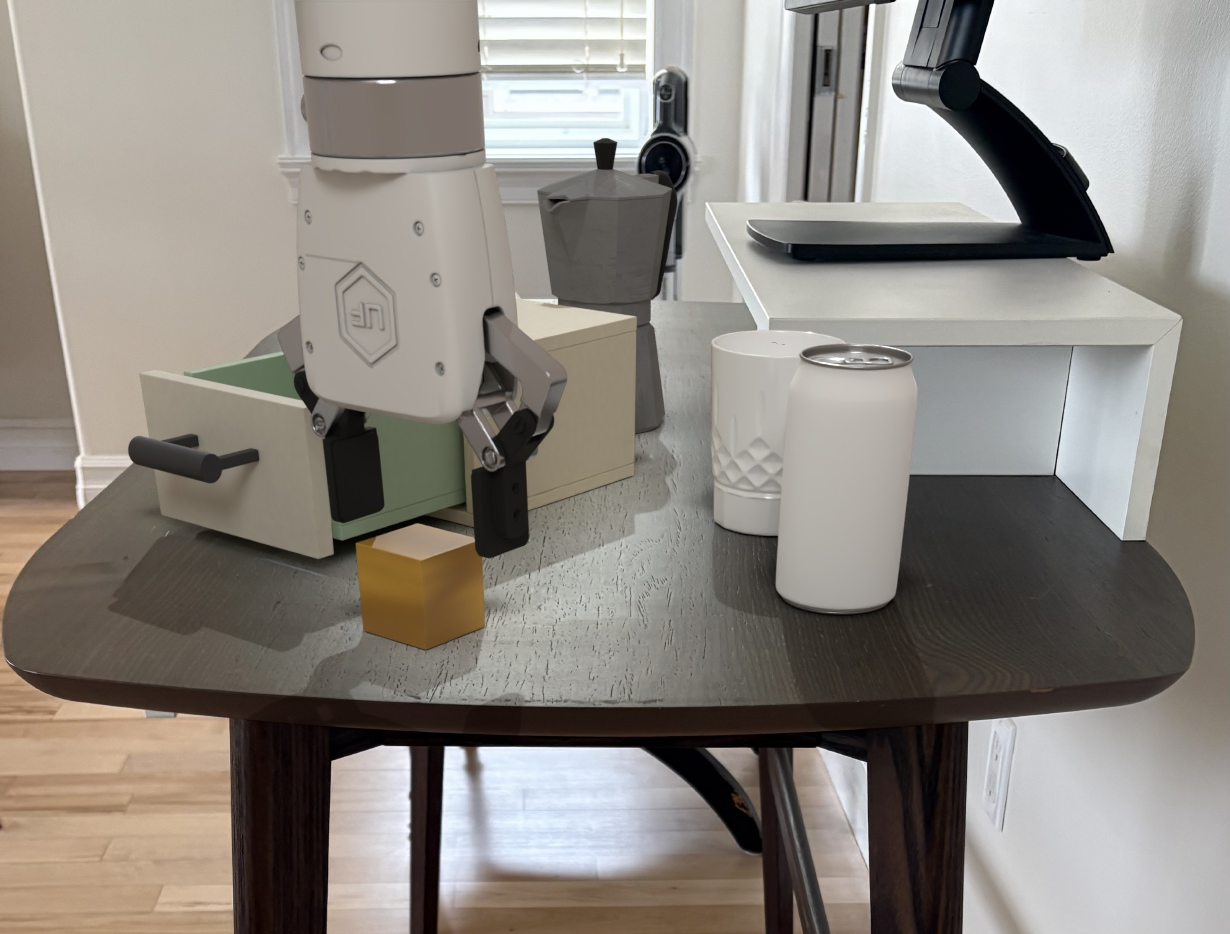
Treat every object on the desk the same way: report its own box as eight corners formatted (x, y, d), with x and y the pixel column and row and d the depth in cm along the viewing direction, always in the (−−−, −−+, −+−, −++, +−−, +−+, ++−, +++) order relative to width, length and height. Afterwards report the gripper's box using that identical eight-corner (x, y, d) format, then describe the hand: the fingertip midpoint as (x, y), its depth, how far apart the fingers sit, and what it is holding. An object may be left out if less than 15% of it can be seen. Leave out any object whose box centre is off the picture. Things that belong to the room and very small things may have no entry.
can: (772, 576, 87) (787, 340, 80) (889, 578, 87) (914, 342, 80) (777, 615, 82) (794, 367, 75) (901, 618, 82) (930, 369, 75)
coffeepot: (606, 448, 110) (608, 149, 100) (499, 429, 114) (490, 140, 104) (719, 407, 121) (731, 133, 110) (617, 391, 125) (619, 125, 114)
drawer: (259, 578, 84) (240, 422, 79) (101, 531, 90) (75, 385, 86) (494, 502, 96) (489, 363, 91) (339, 466, 102) (327, 334, 98)
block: (425, 650, 78) (420, 560, 75) (362, 630, 80) (355, 542, 77) (485, 626, 81) (482, 539, 78) (422, 608, 83) (417, 522, 80)
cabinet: (476, 528, 95) (469, 354, 89) (308, 486, 102) (291, 322, 96) (634, 475, 105) (637, 316, 99) (471, 440, 112) (464, 290, 106)
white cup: (756, 547, 92) (767, 361, 86) (678, 515, 97) (683, 337, 91) (860, 527, 95) (877, 347, 89) (778, 496, 101) (790, 324, 95)
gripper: (195, 123, 69) (252, 521, 79) (489, 142, 61) (511, 586, 71) (320, 111, 74) (359, 488, 84) (609, 127, 65) (614, 545, 76)
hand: (428, 532), depth 77 cm, fingers open, 9 cm apart
